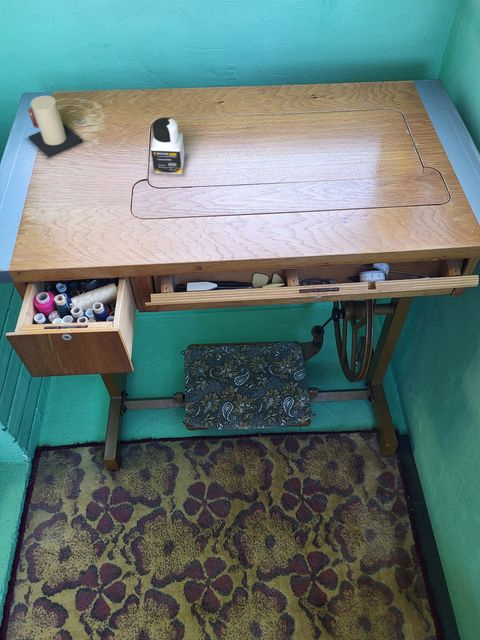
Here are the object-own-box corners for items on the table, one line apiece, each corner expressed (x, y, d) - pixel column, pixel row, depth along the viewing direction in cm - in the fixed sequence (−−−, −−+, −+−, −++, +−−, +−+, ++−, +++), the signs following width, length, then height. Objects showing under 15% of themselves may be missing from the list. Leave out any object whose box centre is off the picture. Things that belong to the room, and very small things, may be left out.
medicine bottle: (154, 173, 133) (147, 131, 123) (157, 155, 137) (151, 113, 127) (182, 174, 133) (178, 132, 123) (184, 156, 137) (180, 114, 127)
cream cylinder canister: (69, 131, 140) (58, 96, 131) (63, 145, 136) (52, 110, 128) (40, 130, 140) (28, 94, 131) (34, 144, 136) (21, 108, 128)
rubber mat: (48, 157, 135) (48, 155, 134) (29, 139, 139) (28, 136, 138) (82, 142, 139) (81, 139, 138) (62, 124, 142) (61, 122, 142)
